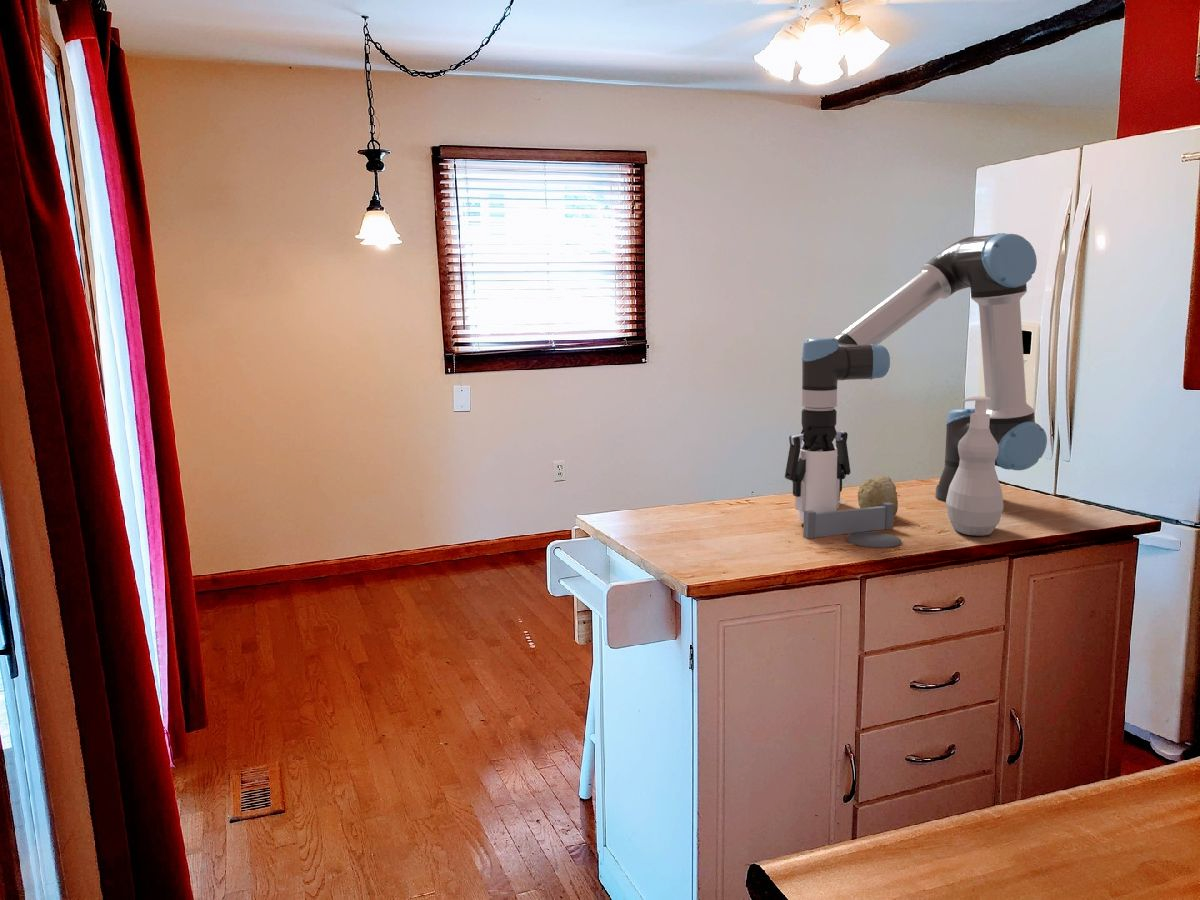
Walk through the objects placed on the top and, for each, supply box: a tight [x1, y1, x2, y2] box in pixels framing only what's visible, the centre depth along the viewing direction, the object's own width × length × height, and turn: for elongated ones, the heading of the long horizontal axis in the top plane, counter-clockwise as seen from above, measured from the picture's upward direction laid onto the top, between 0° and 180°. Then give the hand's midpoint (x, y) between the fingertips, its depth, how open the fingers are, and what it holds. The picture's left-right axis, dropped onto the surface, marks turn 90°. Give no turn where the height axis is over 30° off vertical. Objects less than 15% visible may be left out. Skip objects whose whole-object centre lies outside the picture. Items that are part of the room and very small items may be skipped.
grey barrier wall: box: [802, 502, 894, 539], centre depth 194 cm, size 22×2×6 cm, turn 110°
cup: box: [797, 446, 838, 522], centre depth 200 cm, size 8×8×16 cm
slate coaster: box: [846, 531, 902, 549], centre depth 188 cm, size 11×11×1 cm
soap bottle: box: [945, 396, 1005, 537], centre depth 193 cm, size 17×12×29 cm
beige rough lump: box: [857, 476, 899, 517], centre depth 209 cm, size 10×10×10 cm
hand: (817, 508), depth 201 cm, fingers closed on cup, 8 cm apart
